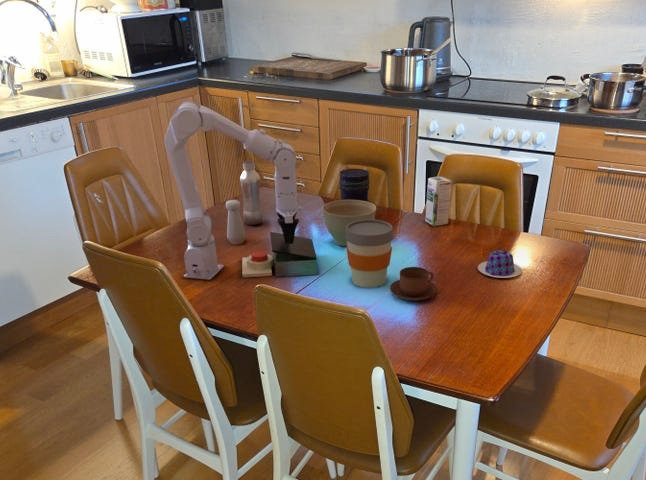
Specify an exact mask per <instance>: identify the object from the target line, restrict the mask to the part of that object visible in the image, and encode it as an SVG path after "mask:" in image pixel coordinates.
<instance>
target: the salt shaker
mask: <svg viewBox="0 0 646 480" xmlns="http://www.w3.org/2000/svg"><path fill="white" fill-rule="evenodd" d="M225 209H226V210H227V225H226V226H227V229H226V238H227V239H228V241H229V242H230V244H231V245H241V244H243V243H244V241H245V239H246V236H247V235H246V234H247V232H246V229H245V226H244V222H243V220H242V216H241V212H240V209H241V202H240V201H239V200H238V199H229V200H227V201H225Z"/></svg>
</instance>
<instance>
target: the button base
mask: <svg viewBox="0 0 646 480" xmlns="http://www.w3.org/2000/svg"><path fill="white" fill-rule="evenodd" d="M267 258H268V260H267V261H264V262H253V261H252V256H251V254H250V255H248V256H246V257H241V260H242V261H241V265H242V266H241V268H242V269H241V271H242V272H241V273H242V274H241V275H242V278H256V277H269V276H271V277H272V276H273V273H272V272H273V271H272V266H274V256H272V255H271V254H268V253H267Z"/></svg>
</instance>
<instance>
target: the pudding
mask: <svg viewBox="0 0 646 480" xmlns="http://www.w3.org/2000/svg"><path fill="white" fill-rule="evenodd" d="M477 270H478V272H480V273H482V274H483V275H485V276H489V277H492V278H501V279H502V278H503V279H508V278H513V277H514V278H515V277H517V276H519V275H521V274H522V272H523V269H522V267H521V266H519V265H518V264H516V263H515V262H514V255H513V254H512V253H511V252H510V251H507V250H503V249H501V250H498V249H497V250H494V251H492V252H490V254H489V256H488V260H487V261H483V262H481V263H479V264H478V265H477Z"/></svg>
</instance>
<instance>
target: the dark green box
mask: <svg viewBox="0 0 646 480" xmlns="http://www.w3.org/2000/svg"><path fill="white" fill-rule="evenodd" d="M272 254H273V265H274V272H275V273H274V274H275V278H282V277H283V278H284V277H297V276H313V275H318V258H317V259H310V258H304V257H298V256H292V255H286V254H280V253H274V252H272Z"/></svg>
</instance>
